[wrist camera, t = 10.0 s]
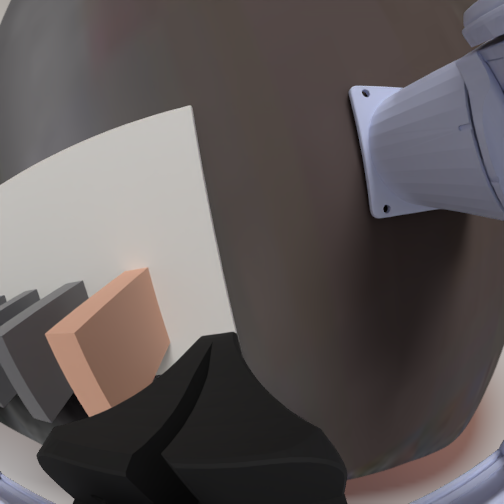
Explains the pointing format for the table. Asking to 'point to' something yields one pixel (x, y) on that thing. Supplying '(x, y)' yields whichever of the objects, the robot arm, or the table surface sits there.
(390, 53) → the table surface
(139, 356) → the domino
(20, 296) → the domino
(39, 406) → the domino
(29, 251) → the grey mat
